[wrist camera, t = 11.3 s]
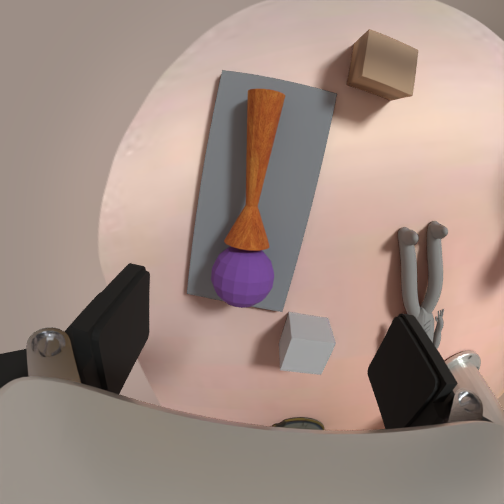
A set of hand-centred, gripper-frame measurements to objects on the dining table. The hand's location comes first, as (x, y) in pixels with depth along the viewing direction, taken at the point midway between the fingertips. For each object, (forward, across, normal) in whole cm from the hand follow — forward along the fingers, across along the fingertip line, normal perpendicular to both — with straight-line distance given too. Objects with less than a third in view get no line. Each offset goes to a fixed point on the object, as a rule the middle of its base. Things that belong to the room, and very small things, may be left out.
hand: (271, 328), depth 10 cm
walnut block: (+20, -8, -16) cm, 27 cm away
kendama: (+20, +2, 0) cm, 20 cm away
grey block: (+21, -8, +15) cm, 26 cm away
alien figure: (+21, -22, +10) cm, 32 cm away
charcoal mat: (+20, +1, 0) cm, 20 cm away
